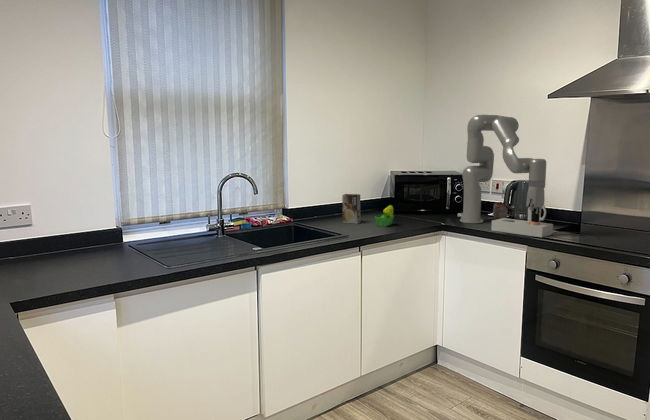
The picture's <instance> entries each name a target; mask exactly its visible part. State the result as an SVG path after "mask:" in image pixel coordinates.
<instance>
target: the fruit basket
mask: <svg viewBox="0 0 650 420" xmlns="http://www.w3.org/2000/svg"><path fill="white" fill-rule="evenodd" d="M382 212H383V214H380V215H376V216H374V219H375V223H376V226H377V227H383V228H384V227H385V228H386V227H388V226H391V225H392V223H393V221H394V220H393V219H394V218H395V215H393V214H394V206H393V205H392V204H389V205H388V206H386V207H385V208H384V209H383V210H382Z"/></svg>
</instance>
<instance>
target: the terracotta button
mask: <svg viewBox="0 0 650 420" xmlns="http://www.w3.org/2000/svg"><path fill="white" fill-rule="evenodd" d="M540 223H541V220H540V221H539V222H532V221H529V224H531V225H540Z"/></svg>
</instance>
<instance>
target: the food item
mask: <svg viewBox="0 0 650 420" xmlns="http://www.w3.org/2000/svg"><path fill="white" fill-rule="evenodd" d="M504 203H505V202H502V201H499V202H497V201H496V202H495V203H494V204H493V208H492V214H493V215H492V216H493V219H494V220H497V219H501V218H507V219H508V207H507V206H506V205H505V206H506V207H507V208H506V207H505V206H504Z"/></svg>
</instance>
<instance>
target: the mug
mask: <svg viewBox="0 0 650 420" xmlns="http://www.w3.org/2000/svg"><path fill="white" fill-rule="evenodd" d="M542 209H543V216H542V215H541V214H542ZM546 216H547V208H546V205H544V206H542V208H541V209H540V213H539V221H540V222H541V221H544V220H545V218H546ZM527 221H531V211H530V207H527Z"/></svg>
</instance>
